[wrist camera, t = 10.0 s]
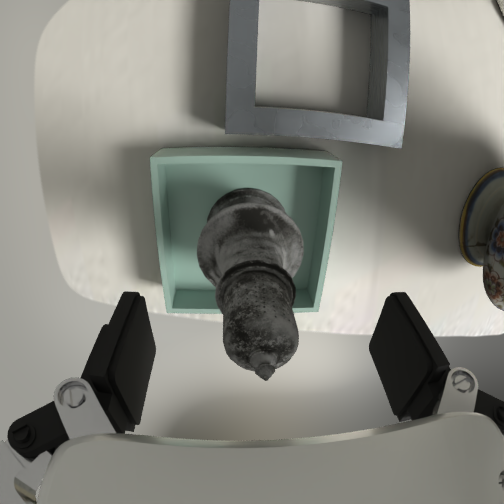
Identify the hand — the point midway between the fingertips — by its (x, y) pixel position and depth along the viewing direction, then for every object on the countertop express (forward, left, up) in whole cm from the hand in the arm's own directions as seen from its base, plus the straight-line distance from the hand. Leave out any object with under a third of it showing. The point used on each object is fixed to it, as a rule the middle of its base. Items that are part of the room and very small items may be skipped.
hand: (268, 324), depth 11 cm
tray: (+1, +1, -11) cm, 10 cm away
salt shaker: (0, 0, -10) cm, 10 cm away
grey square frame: (-3, -11, -11) cm, 16 cm away
